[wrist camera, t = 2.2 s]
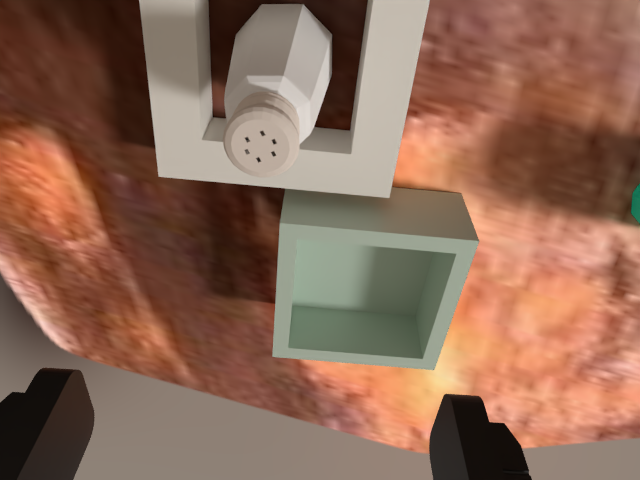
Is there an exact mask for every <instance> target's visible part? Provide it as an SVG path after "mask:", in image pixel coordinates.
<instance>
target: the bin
mask: <svg viewBox="0 0 640 480" xmlns="http://www.w3.org/2000/svg"><path fill="white" fill-rule="evenodd" d="M478 243H479V239H478V237H477V234H476V231H475V229H474V226H473V223H472V221H471V218H470V215H469V213H468V210H467V207H466V205H465V202H464V199H463V197H462V194H461V193H450V192H439V191H429V190H418V189H407V188H397V187H391V192H390V197H389V198H383V197H372V196H362V195H351V194H340V193H329V192H319V191H308V190H297V189H286V188H285V193H284V200H283V206H282V212H281V219H280V228H279V247H278V265H277V283H276V302H275V320H274V338H273V357H281V358H293V359H306V360H318V361H330V362H342V363H354V364H367V365H379V366H391V367H403V368H415V369H428V370H434V369H435V366H436V363H437V361H438V358H439V355H440V352H441V349H442V346H443V343H444V340H445V338H446V335H447V332H448V329H449V326H450V323H451V320H452V318H453V315H454V312H455V309H456V306H457V303H458V300H459V297H460V295H461V292H462V289H463V286H464V283H465V280H466V277H467V275H468V272H469V269H470V266H471V263H472V260H473V257H474V254H475V252H476V249H477V246H478Z"/></svg>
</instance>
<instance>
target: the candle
mask: <svg viewBox="0 0 640 480" xmlns="http://www.w3.org/2000/svg"><path fill="white" fill-rule="evenodd" d="M631 214H632V215H633V216H634V218H635V219H636V220H637V221H638V222H639V224H640V183H639V185H638V186H637V188H636V189H635V190H634V192H633V194H632V206H631Z"/></svg>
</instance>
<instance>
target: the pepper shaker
mask: <svg viewBox="0 0 640 480" xmlns="http://www.w3.org/2000/svg"><path fill="white" fill-rule="evenodd" d="M331 76H332V34H331V33H330V32H329V31H328V30H327V28H326V27H325V26H324V25H323V24H322V23H321V22H320V21H319V20H318V19H317V18H316V17H315V16H314V15H313V14H312V13H311V12H310V11H309V10H308V9H307V8H306V7H305V6H304V4H262V5H261V6H260V7H259V8H258V9H257V10H256V12H255V13H254V14H253V15H252V16H251V18H250V19H249V20H248V21H247V22H246V23H245V25H244V26H243V27H242V28H241V29H240V30H239V32H238V33H237V34H236V37H235V42H234V47H233V53H232V58H231V63H230V68H229V73H228V79H227V84H226V89H225V97H224V104H225V112H226V120H227V125H226V127H225V129H224V134H223V145H224V150H225V152H226V154H227V157H228V158H229V159H230V161H231V162H232V163H233V165H235V166H236V167H237V168H238V169H240V170H241V171H243V172H245V173H247V174H249V175H252V176H256V177H272V176H276V175H279V174H281V173H283V172H285V171H287V170H288V169H289V168H290V167H291V166H292V165H293V164H294V162H295V160H296V159H297V157H298V153H299V149H300V144H301V143H302V142H303V141H304V140H305V139H306V138H307V137H308V136H309V135H310V134H311V132H312V130H313V128H314V126H315V123H316V120H317V117H318V114H319V111H320V108H321V105H322V102H323V99H324V96H325V93H326V90H327V87H328V85H329V82H330V79H331Z"/></svg>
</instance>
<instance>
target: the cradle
mask: <svg viewBox="0 0 640 480" xmlns="http://www.w3.org/2000/svg"><path fill="white" fill-rule="evenodd" d="M429 1H430V0H368V3H367V11H366V18H365V25H364V32H363V40H362V47H361V54H360V62H359V69H358V76H357V84H356V91H355V98H354V105H353V113H352V120H351V127H350V131H349V130H339V129H329V128H318V127H314V128H313V130H312V132H311V134H310V135H309V136H308V137H307V138H306V139H305V140H304V141H303V142H302V143H301V144H300V149H299V153H298V157H297V159H296V160H295V162H294V164H293V165H292V166H291V167H290V168H289V169H288V170H287V171H285V172H283V173H281V174H279V175H276V176H272V177H256V176H252V175H249V174H247V173H245V172H243V171H241V170H240V169H238V168H237V167H236V166H235V165H233V163H232V162H231V161H230V159H229V158H228V157H227V154H226V152H225V150H224V145H223V134H224V129H225V127H226V125H227V120H226V118H216V117H213V114H212V86H211V58H210V30H209V3H208V0H139V3H140V12H141V21H142V30H143V39H144V48H145V57H146V66H147V75H148V84H149V93H150V102H151V111H152V120H153V129H154V138H155V147H156V156H157V165H158V174H159V177H168V178H179V179H190V180H200V181H211V182H222V183H233V184H243V185H254V186H265V187H276V188H286V189H297V190H308V191H319V192H329V193H340V194H351V195H362V196H372V197H383V198H389V197H390V192H391V187H392V183H393V178H394V173H395V168H396V163H397V158H398V153H399V148H400V143H401V138H402V134H403V129H404V124H405V119H406V114H407V109H408V104H409V99H410V94H411V89H412V85H413V80H414V75H415V70H416V65H417V60H418V55H419V50H420V45H421V40H422V35H423V31H424V26H425V21H426V16H427V11H428V6H429Z"/></svg>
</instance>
